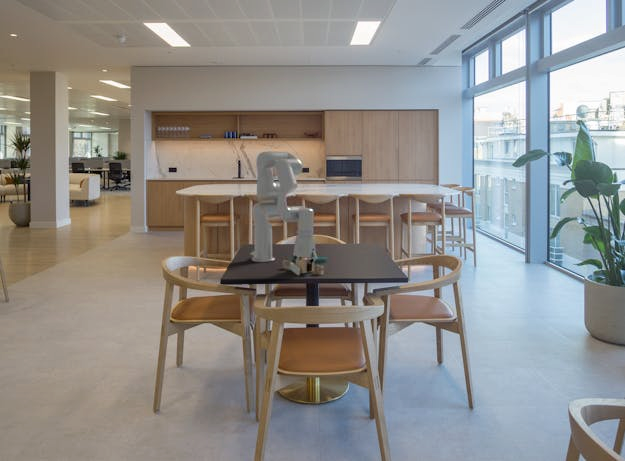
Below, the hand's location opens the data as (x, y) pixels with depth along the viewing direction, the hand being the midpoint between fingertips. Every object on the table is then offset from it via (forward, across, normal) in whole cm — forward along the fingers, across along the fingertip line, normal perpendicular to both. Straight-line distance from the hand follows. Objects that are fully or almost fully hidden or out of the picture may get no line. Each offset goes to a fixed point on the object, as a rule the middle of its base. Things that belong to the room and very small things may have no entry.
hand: (304, 270), depth 285 cm
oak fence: (+1, -2, 0) cm, 2 cm away
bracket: (+2, -16, +24) cm, 29 cm away
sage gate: (+1, -2, -4) cm, 5 cm away
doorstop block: (+1, 0, 0) cm, 1 cm away
